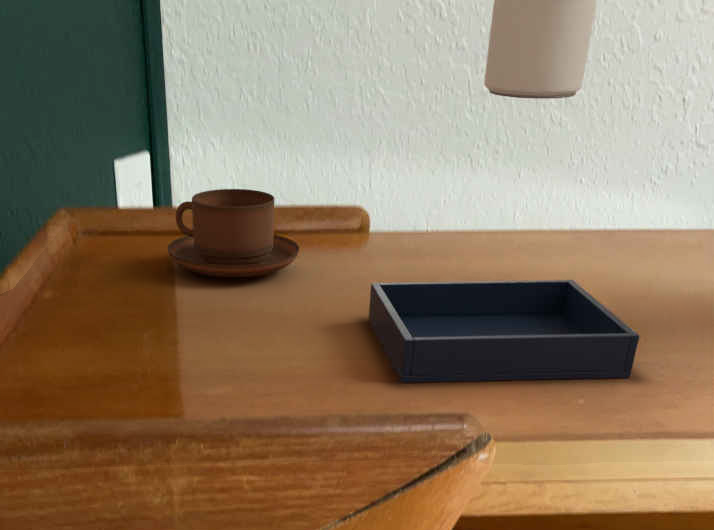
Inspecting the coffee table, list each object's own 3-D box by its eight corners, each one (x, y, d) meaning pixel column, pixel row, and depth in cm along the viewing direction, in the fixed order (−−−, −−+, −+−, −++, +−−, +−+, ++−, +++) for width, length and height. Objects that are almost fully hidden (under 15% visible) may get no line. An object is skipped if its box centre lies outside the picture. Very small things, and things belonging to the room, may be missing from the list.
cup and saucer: (153, 283, 84) (149, 209, 81) (186, 248, 94) (183, 181, 91) (287, 291, 83) (289, 216, 79) (307, 255, 92) (309, 186, 89)
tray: (565, 317, 78) (572, 279, 76) (630, 377, 67) (640, 335, 65) (368, 320, 76) (371, 282, 75) (401, 383, 66) (405, 340, 64)
